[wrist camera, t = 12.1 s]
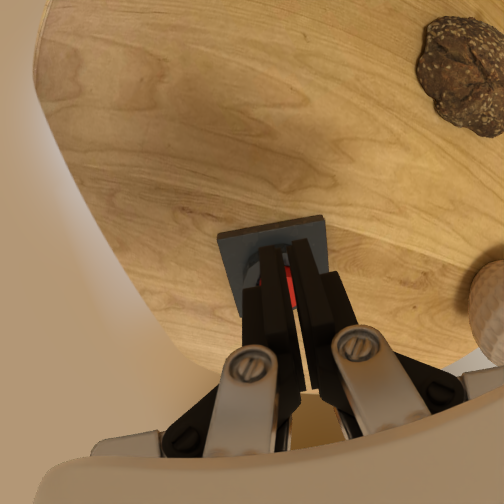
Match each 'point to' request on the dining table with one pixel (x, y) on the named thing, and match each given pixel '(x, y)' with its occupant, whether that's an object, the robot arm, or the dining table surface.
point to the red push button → (290, 285)
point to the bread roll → (465, 73)
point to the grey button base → (280, 234)
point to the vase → (488, 311)
